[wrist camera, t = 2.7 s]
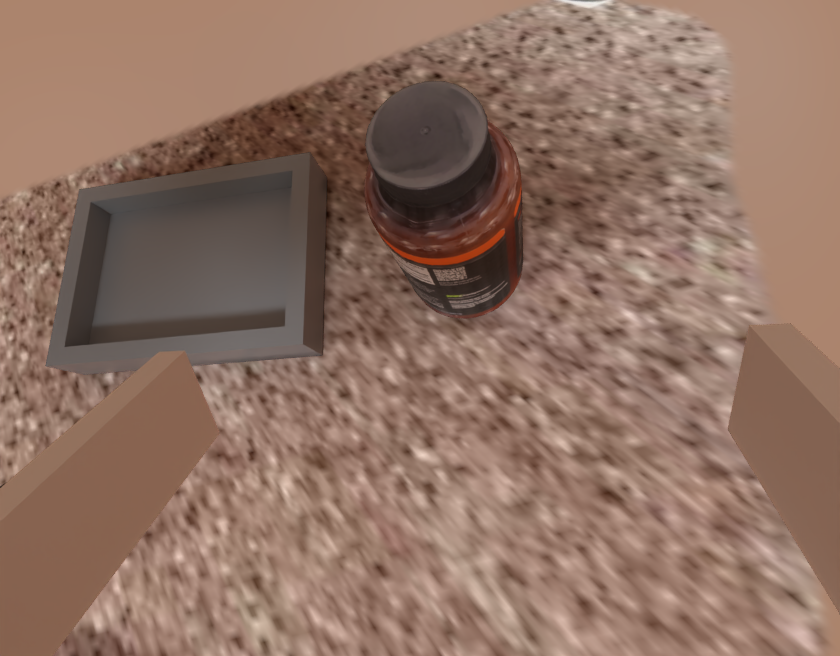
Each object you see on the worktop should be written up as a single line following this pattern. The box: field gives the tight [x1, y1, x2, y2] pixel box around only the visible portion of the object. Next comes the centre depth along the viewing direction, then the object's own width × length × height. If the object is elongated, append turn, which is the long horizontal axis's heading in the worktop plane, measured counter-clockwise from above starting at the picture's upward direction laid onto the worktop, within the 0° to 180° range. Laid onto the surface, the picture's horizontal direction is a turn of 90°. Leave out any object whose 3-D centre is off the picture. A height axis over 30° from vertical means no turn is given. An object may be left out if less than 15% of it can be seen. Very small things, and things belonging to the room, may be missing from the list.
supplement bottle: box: [364, 81, 523, 318], centre depth 21 cm, size 6×6×11 cm
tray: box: [46, 152, 327, 375], centre depth 28 cm, size 15×11×2 cm
